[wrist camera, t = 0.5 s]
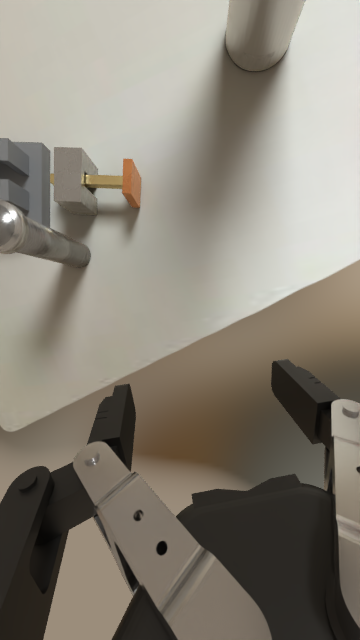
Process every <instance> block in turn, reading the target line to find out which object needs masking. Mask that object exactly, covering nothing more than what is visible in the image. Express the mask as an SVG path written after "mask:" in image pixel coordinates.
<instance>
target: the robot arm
mask: <svg viewBox="0 0 360 640" xmlns="http://www.w3.org/2000/svg"><path fill="white" fill-rule="evenodd" d="M304 3H305V0H230V1H229V10H228V19H227V28H226V38H225V40H226V48H227V51H228V54H229V56H230V57H231V59H232V60H233V61H234V63H235V64H236V65H238V66H239V67H241V68H242V69H245V70H248V71H262V70H265V69H268V68H270V67H271V66H273V65H275V64H276V63H277V62H278V61H279V60H280V59H281V58H282V57H283V55H284V54H285V52H286V50H287V48H288V46H289V43H290V40H291V38H292V35H293V32H294V30H295V27H296V24H297V22H298V19H299V16H300V14H301V11H302V8H303V6H304ZM271 385H272V386H271V387H272V391H273V393H274V395H275V397H276V398H277V399H278V400H279V402H280V403H281V404H282V405H283V407H284V408H285V409H286V411H287V412H288V413H289V415H290V416H291V417H292V418H293V420H294V421H295V422H296V424H297V425H298V426H299V427H300V429H301V430H302V431H303V433H304V434H305V435H306V436H307V437H308V439H309V440H310V442H311V443H312V444H317V443H323V444H324V445H325V451H324V489H321V488H319V487H316V486H313V485H309V484H303V483H300V481H299V480H298V478H297V476H296V475H295V474H292V475H287V476H281V477H276V478H271V479H269V480H267V481H265V482H263V483H261V484H260V485H258V486H256V487H254V488H252V489H250V490H248V491H237V490H224V489H215V490H210V491H205V492H199V493H194V494H192V499H193V504H191V505H190V506H188V507H186V508H185V509H184V510H182V511H181V512H180V513H179V514H178V515H177V516H176V517H175V516H174V514H173V513H172V512H171V511H170V510H169V509H168V507H167V506H166V505H165V504H164V503H163V502H162V501H161V499H160V498H159V497H158V496H157V495H156V494H155V492H154V491H153V490H152V489H151V488H150V486H149V485H148V484H147V483H146V482H145V481H144V480H143V478H142V477H141V476H140V475H139V474H138V473H137V472H134V473H133V474H132V473H131V464H132V453H133V442H134V431H135V420H136V412H135V406H134V402H133V397H132V392H131V387H130V384H124V385H118V386H115V388H114V392H113V396H110V397H106V398H105V399H104V400H103V401H102V402H101V404H100V405H99V408H98V412H97V415H96V418H95V421H94V424H93V427H92V430H91V434H90V437H89V440H88V443H87V445H86V446H85V447H83V448H82V449H81V450H80V451H79V452H78V453H77V455H76V456H75V458H74V461H73V462H72V463H70V464H68V465H66V466H64V467H62V468H60V469H57V470H55V471H53V472H51V473H50V471H49V469H48V468H46V467H44V466H39V467H34V468H31V469H29V470H27V471H25V472H24V473H22V474H21V475H20V476H18V477H17V478H16V479H15V480H14V481H13V482H12V484H11V485H10V486H9V488H8V490H7V492H6V494H5V496H4V498H3V499H2V501H1V503H0V640H43V638H44V633H45V629H46V625H47V621H48V616H49V612H50V608H51V604H52V599H53V595H54V591H55V586H56V582H57V578H58V574H59V569H60V565H61V561H62V557H63V552H64V549H65V544H66V540H67V535H68V531H69V529H71V528H73V527H75V526H76V525H78V524H80V523H82V522H84V521H86V520H87V519H89V518H91V517H93V518H94V521H95V522H96V525H97V526H98V528H99V530H100V532H101V534H102V536H103V538H104V539H105V541H106V543H107V545H108V547H109V549H110V551H111V553H112V554H113V557H114V559H115V560H116V563H117V565H118V567H119V570H120V571H121V574H122V576H123V578H124V580H125V582H126V584H127V585H128V588H129V589H130V591H131V593H132V595H133V598H132V600H131V602H130V604H129V606H128V608H127V610H126V612H125V614H124V616H123V618H122V620H121V622H120V624H119V626H118V628H117V630H116V632H115V634H114V636H113V638H112V640H360V404H359V403H357V402H354V401H351V400H345V399H340V398H339V397H338V396H337V395H336V394H335V393H333V392H332V391H331V390H330V389H329V388H328V387H326V386H325V385H324V384H323V383H321V382H320V381H319V380H318V379H317V378H315V376H314V375H312V374H311V373H310V372H309V371H307V370H305V369H303V368H301V367H296V366H295V365H294V364H292V363H291V362H290V361H289V360H288V359H285V360H278V361H273V363H272V380H271Z"/></svg>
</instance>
